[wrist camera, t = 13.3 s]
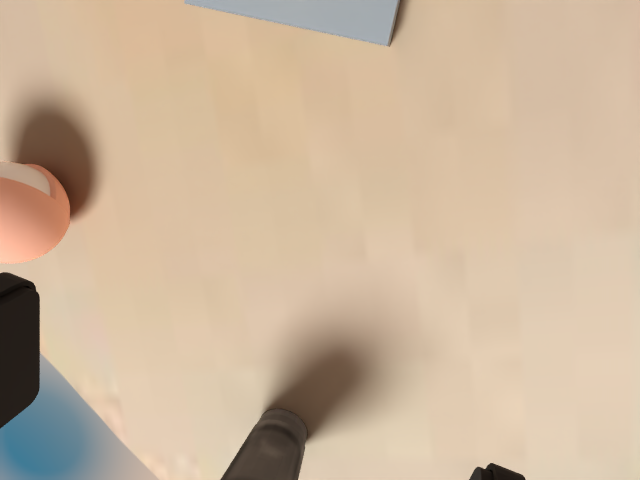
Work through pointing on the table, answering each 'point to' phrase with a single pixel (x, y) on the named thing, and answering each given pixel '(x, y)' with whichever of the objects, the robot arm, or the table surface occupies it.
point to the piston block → (320, 15)
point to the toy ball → (30, 212)
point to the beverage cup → (271, 449)
